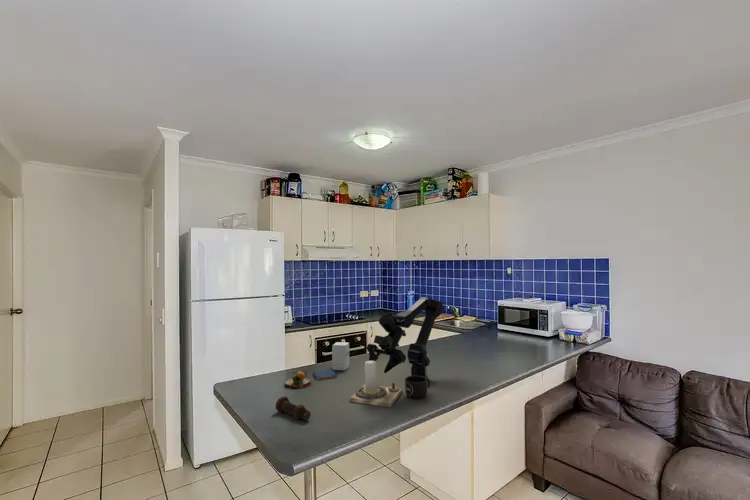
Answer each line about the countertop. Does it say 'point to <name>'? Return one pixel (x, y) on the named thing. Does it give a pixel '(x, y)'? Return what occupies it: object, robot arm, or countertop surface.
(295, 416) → the bolt
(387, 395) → the gear board
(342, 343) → the supplement box
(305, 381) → the burger
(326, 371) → the woven mat
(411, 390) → the mug
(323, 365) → the countertop surface
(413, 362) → the robot arm
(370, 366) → the gear spindle
